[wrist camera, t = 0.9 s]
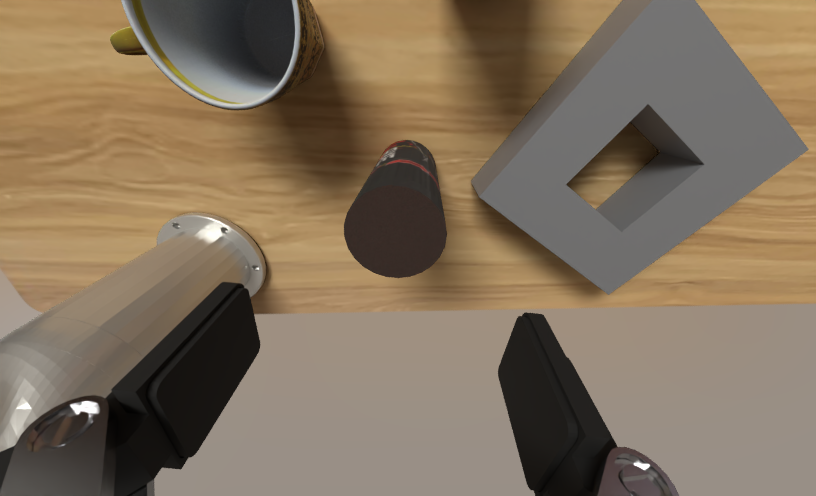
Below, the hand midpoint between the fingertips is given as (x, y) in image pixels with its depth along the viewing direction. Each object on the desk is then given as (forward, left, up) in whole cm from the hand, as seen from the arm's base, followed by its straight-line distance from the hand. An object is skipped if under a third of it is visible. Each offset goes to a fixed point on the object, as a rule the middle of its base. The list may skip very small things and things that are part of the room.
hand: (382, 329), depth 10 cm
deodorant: (0, 0, -22) cm, 23 cm away
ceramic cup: (+2, +16, -23) cm, 28 cm away
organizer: (+12, -15, -22) cm, 29 cm away
